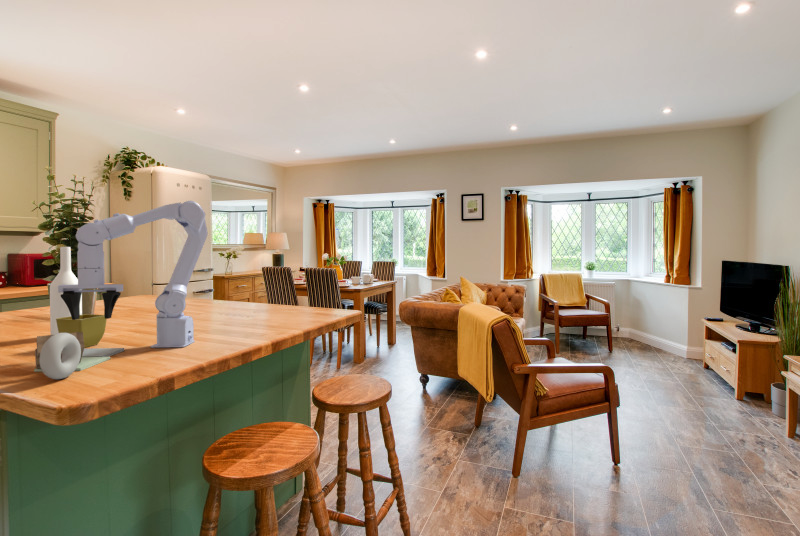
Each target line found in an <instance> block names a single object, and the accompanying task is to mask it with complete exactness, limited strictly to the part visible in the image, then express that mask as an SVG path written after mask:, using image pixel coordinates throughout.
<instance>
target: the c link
mask: <svg viewBox="0 0 800 536" xmlns="http://www.w3.org/2000/svg"><path fill="white" fill-rule="evenodd" d="M69 334H71V335H73V336H75V337H76V338H77V340H78V341H79V343H80V347H81V358H82V355H83V351H84V349H85V348H84V338H83V332H77V333H69ZM51 336H53V335H51V334H49V335H48V334H47V335H39V336H37V337H36V348H35V352H34V356H35V369H41V367H40V361H39V360H40V353H41V350H42V347H43V345H44V344H45V342H46V341H47V340H48V339H49V338H50V337H51ZM61 358H62V352H61ZM81 358H80V361H79V363H80V362H81Z"/></svg>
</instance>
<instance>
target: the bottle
mask: <svg viewBox="0 0 800 536" xmlns="http://www.w3.org/2000/svg"><path fill="white" fill-rule="evenodd" d="M71 247H72V246H60V247H59V248H60V249H59V254H60V256H59V258H60V260H59V261H60V267H59V272H58V273H57V275H56V276H54V277H55V278H54V279H53V280H52V281H51V283H50V285H49V315H50V316H49V318H50V321H49V322H50V323H49V324H50V335H55V334H58V333H59V332H58V327H57V322H56V319H57V318H63V317H71V314H70V311H69V309H68V307H67V305H66V303H65V302H64V300H63V299H62V298H61V294H63V293H58V285H78V277H76V275H75V274H74V272H73V271H72V256H71V255H72V252H71V251H72V250H71V249H72V248H71ZM79 308H80V315H83V293H82V294H81V298H80V306H79Z"/></svg>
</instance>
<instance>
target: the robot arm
mask: <svg viewBox="0 0 800 536" xmlns="http://www.w3.org/2000/svg"><path fill="white" fill-rule="evenodd" d="M162 219H165V220H171V221H174V220H175V221H176V222H177V223H178V224H180V226H181V227H183V229H184V230H185V232H186V234H187V237H186V240H185V242H184V245H183V248H182V250H181V253H180V255H179V257H178V259H177V263H176V264H175V266H174V269H173V272H172V274H171V275H170V276H171V277H170V278H169V281H168V283H167V284H166V286H165V287H164V288H163V290H162V292H161V294H159V295H158V296H157V297H156V299H155V301H154V306H155V308H156V310H157V311H158V313H157V314H156V343H155V344H152V345H150V348H151V349H152V348H153V349H154V348H157V349H160V348H184V347H187V346H189V345H191V344H193V343H195V339H194V334H195V333H194V331H195V330H194V319H193V317H192V316H191V315H190V316H189V315H185V312H184V311H185V309H186V307H187V306H186V305H187V303H186V298H187V295H188V292H187V291H188V290H187V289H188V285H189V283H190V280H191V277H192V275H193V273H194V270H195V268H196V266H197V262H198V260H199V258H200V255H201V253H202V251H203V248H204V245H205V243H206V240H207V238H208V228H207V223H206V212H205V211H204V209H203V207H202V205H200V204H199V203H198V202H197V201H194V200H186V201H183V202H174V203H168V204H165V205H162V206H159V207H158V206H157V207H156V208H152V209H150V210H147V211H143V212H140V213H137V214H134V215H129V214H126V213H119V212H116V213H113V214H112V216H110V217H107V218H103V219H94V220H93V222H88V223H85V224H84V225H82V226H80V227H79V228H77V231H76V234H75V239H76V240H77V242H78V243H77V254H76V255H77V257H76V258H77V279H78V285H58V293H63V294H61V298H62V299H63V300H64V302H65V303H66V305H67V307H68V309H69V311H70V314H71V317H72V320H76V319H79V317H80V308H79V306H80V298H81V294H82V295H83V293H97V292H98V293H100V292H101V296H102V300H103V306H104V307H103V308H104V312H103V313H104V314H103V315H104V316H105V319H111V318H112V315H113V311H114V308H115V305H116V303H117V301H118V299H119V298H120V297H121V294H122V292H124V283H123V284H121V283H117V284H115V283H112V284H111V283H110V284H109V283H105V282H106V281H105V251H104V242H105V240H107V241H111V240H114V239H118V238H121V237H123V236H126V235H129V234H132V233H134V231H136V228H137V227H139V226H141V225H145V224H149V223H153V222H156V221H159V220H162Z"/></svg>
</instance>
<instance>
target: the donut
mask: <svg viewBox="0 0 800 536" xmlns="http://www.w3.org/2000/svg"><path fill="white" fill-rule="evenodd" d="M61 352H62V358H61ZM80 358H81V347H80V343H79V341H78V340H77V338H76V337H75V336H73V335H71V334H69V333H58V334H55V335H53V336H51V337H50V338H49V339H48V340H47V341H46V342H45V344H44V345H43V347H42V350H41V353H40V360H39V361H40V367H41V369H42V371H43V372H42V373H43V374H44V375H45V376H46V377H47V378H49V379H52V380H62V379H65V378H67V377H69V376H71V375H72V374H73V373H74V372H75V369H76V368H77V366H78V364H79V361H80Z"/></svg>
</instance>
